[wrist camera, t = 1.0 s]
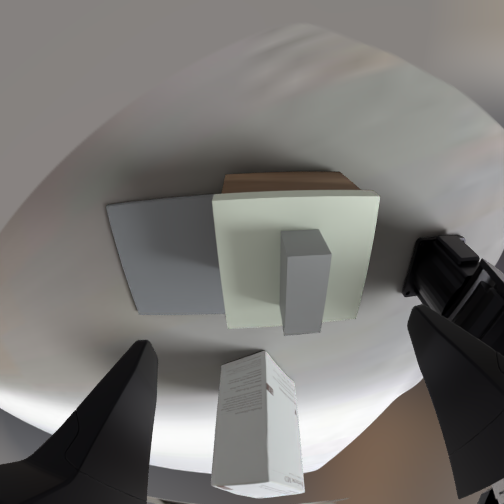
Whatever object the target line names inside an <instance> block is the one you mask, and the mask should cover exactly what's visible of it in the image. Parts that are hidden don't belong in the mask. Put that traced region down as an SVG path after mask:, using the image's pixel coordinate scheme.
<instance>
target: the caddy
mask: <svg viewBox="0 0 504 504" xmlns="http://www.w3.org/2000/svg"><path fill="white" fill-rule="evenodd" d="M294 190H361V189H359V188H358V187H357V186H356V185H355V184H354V183H353V182H351V181H350V180H349V179H348V178H347V177H345V176H344V175H343V174H342V173H341V172H265V173H243V174H226V175H225V179H224V184H223V188H222V193H221V194H226V193H243V192H264V191H294Z"/></svg>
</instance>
